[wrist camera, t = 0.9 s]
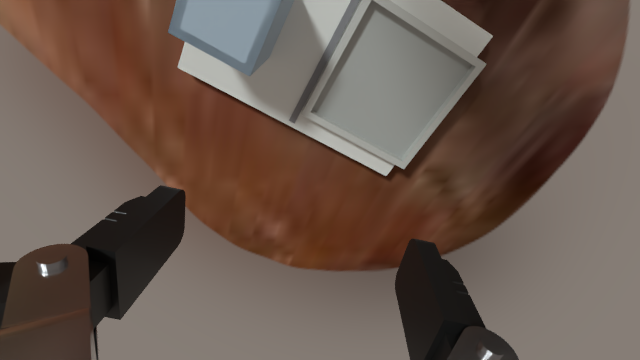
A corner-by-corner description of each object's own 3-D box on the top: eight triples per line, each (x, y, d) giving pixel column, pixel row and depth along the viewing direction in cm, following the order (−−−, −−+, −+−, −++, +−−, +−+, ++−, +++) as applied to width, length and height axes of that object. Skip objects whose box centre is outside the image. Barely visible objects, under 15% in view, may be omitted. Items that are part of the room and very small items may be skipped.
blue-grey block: (207, 22, 26) (167, 32, 20) (230, -51, 24) (193, -66, 18) (269, 57, 27) (249, 76, 21) (298, -10, 25) (285, -9, 19)
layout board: (184, 64, 30) (148, 81, 24) (244, -131, 23) (213, -171, 17) (389, 171, 34) (398, 207, 29) (491, 37, 27) (530, 49, 22)
